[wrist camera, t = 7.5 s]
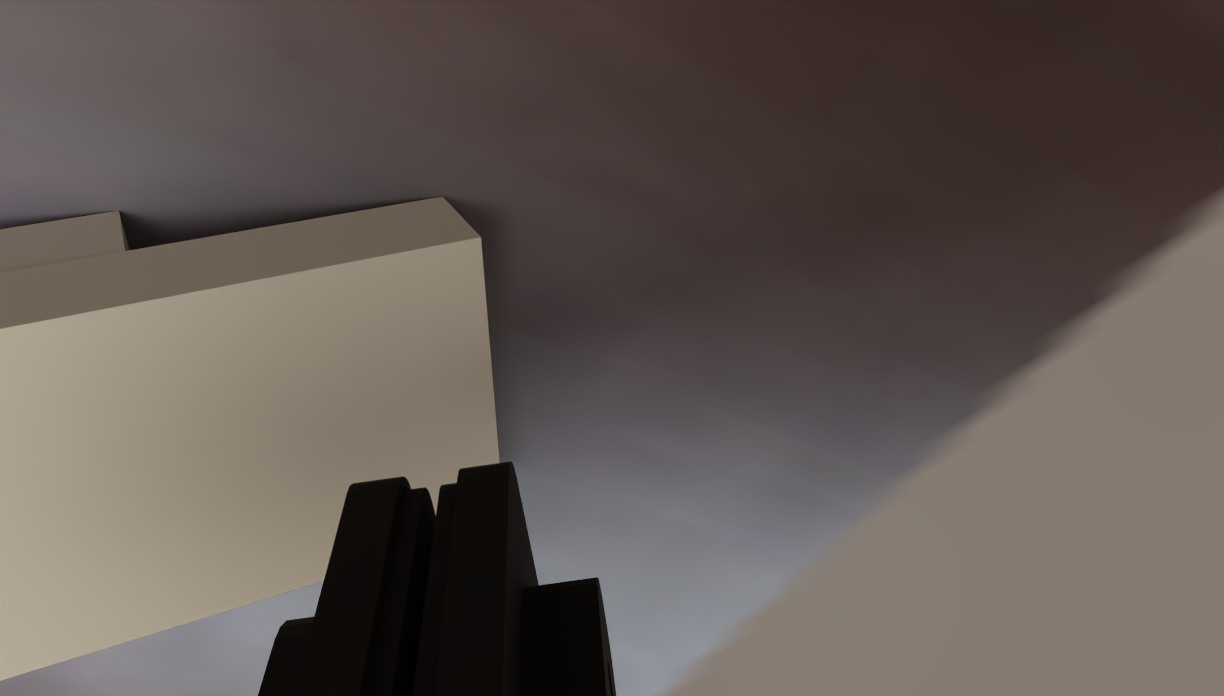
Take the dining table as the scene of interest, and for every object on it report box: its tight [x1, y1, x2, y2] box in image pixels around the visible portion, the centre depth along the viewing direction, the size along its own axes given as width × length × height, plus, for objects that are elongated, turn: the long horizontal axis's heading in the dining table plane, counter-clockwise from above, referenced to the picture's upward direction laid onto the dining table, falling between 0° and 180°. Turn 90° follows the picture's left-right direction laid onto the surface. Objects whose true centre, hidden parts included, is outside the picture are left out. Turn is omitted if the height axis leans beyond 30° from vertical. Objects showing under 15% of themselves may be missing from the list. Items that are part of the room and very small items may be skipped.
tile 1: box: [0, 197, 500, 681], centre depth 14 cm, size 2×5×10 cm
